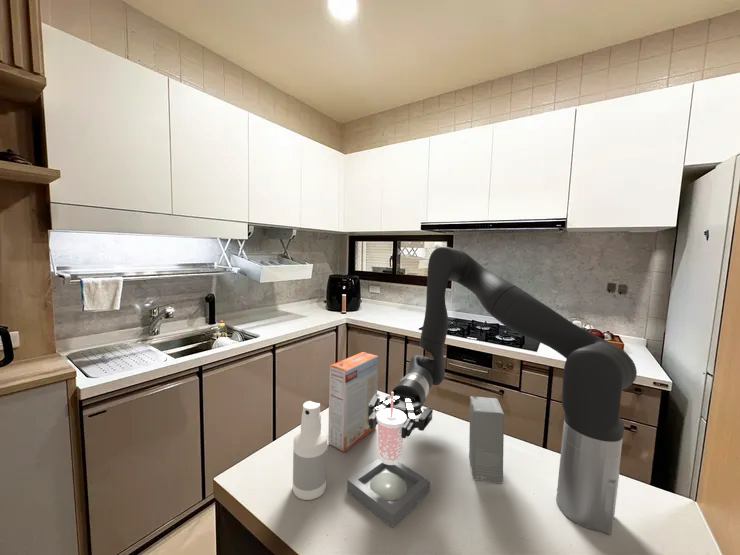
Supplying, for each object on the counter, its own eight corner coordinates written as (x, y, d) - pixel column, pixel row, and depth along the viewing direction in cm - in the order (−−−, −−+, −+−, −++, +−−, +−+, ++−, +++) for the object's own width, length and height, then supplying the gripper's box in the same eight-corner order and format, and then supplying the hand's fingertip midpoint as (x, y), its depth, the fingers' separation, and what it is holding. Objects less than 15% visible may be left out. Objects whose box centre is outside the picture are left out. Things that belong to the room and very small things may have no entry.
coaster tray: (429, 492, 65) (429, 480, 65) (392, 528, 56) (393, 515, 56) (385, 463, 73) (385, 453, 73) (347, 490, 64) (347, 479, 64)
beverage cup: (386, 472, 60) (389, 402, 58) (368, 453, 65) (371, 389, 64) (410, 461, 63) (414, 395, 62) (392, 444, 68) (395, 382, 67)
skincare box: (503, 485, 68) (509, 415, 66) (468, 479, 69) (473, 410, 68) (495, 460, 76) (500, 397, 74) (465, 455, 77) (469, 393, 76)
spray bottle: (285, 494, 63) (287, 408, 61) (304, 472, 69) (305, 394, 67) (315, 505, 60) (318, 416, 59) (332, 481, 67) (334, 400, 65)
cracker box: (359, 420, 91) (362, 350, 89) (376, 428, 87) (380, 355, 85) (326, 444, 79) (328, 364, 78) (344, 453, 76) (347, 370, 74)
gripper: (383, 372, 79) (354, 402, 64) (441, 384, 73) (424, 420, 58) (382, 400, 80) (353, 437, 64) (439, 414, 74) (422, 458, 59)
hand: (387, 428), depth 61 cm, fingers closed on beverage cup, 6 cm apart
